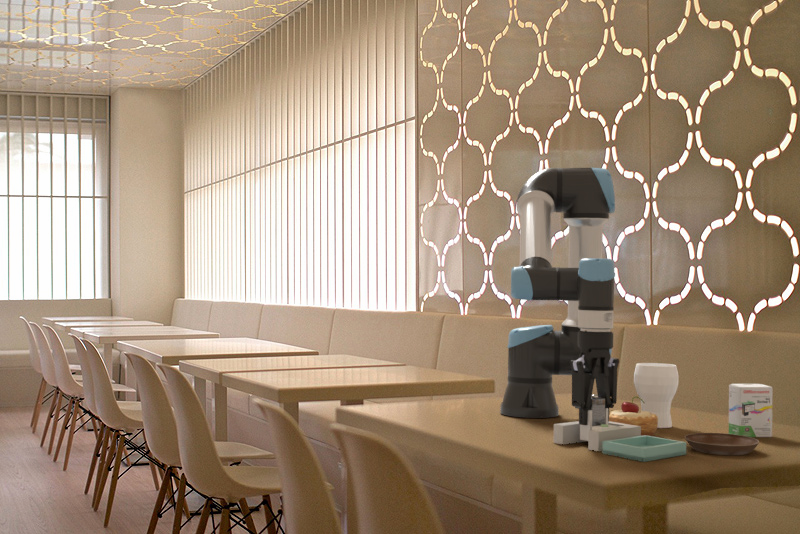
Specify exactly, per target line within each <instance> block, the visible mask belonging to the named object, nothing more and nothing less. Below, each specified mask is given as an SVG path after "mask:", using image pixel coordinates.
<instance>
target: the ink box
mask: <svg viewBox="0 0 800 534" xmlns="http://www.w3.org/2000/svg"><path fill="white" fill-rule="evenodd" d="M773 390H774V388H773V387H772V386H771V385H766V384H762V383H731V384H728V434H735V435H742V436H747V437H751V438H772V437H773V395H774V394H773V392H774V391H773Z"/></svg>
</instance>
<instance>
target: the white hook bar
mask: <svg viewBox="0 0 800 534" xmlns="http://www.w3.org/2000/svg"><path fill="white" fill-rule="evenodd" d="M636 436H641V426H635V425H629V424H623V423H617V422H611V421H609V422H608V424H601V425H600V426H592V430H589V435H588V441H587V442H588V443H587V444H588V446H587V450H589V451H592V450H594V451H593V452H597V451H599V452H602V450H603V441H608V440H615V439H622V438H629V437H636ZM552 440H553V443H554V444H556V445H557V444H558V445H562V444H563V445H568V444H569V443H570V444H577V443H582V442H583V443H584V442H585V441H584V440H580V424H579V420H578V421H569V422H560V423H554V424H553V438H552ZM576 442H577V443H576Z"/></svg>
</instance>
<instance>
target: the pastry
mask: <svg viewBox="0 0 800 534" xmlns="http://www.w3.org/2000/svg"><path fill="white" fill-rule="evenodd" d="M634 399H639V400H641V401H642V402H643V403H644V401H643V400H642V399H641V398H639V396H633V397H632V398H631V402H630V401H622V403H621V406H620V407H621V409H615V410H609V421H611V422H617V423H623V424H629V425H635V426H641V436H643V435H647V436H653V437H654V435H655V433H656V431H657V429H658V428H657V425H658V417H657V415H656V414H654V413H653V414H651V413H650V412H648V411H642V410H640V407H639V405H638V404H637V403H634ZM641 401H640V402H641Z"/></svg>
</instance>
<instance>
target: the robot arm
mask: <svg viewBox="0 0 800 534" xmlns="http://www.w3.org/2000/svg"><path fill="white" fill-rule="evenodd" d="M615 211H616V198H615V189H614V182H613V177H612V175H611V172H610V171H609V169H607V168H603V167H602V168H600V167H592V166H591V167H548V168H545V169H542V170H539V171H538V172H536V173H535V174H532V176H531V177H529V178H528V179H527V180H526V181H525V182H524V183H523V185H522V186H521V188H520V189H519V192H518V194H517V199H516V212H517V213H518V215H519V217H520V221H519V222H520V226H519V265H518V266H513V267H512V268H511V271H510V273H511V274H510V296H511V297H512V298H513V299H515V300H525V301H563V302H564V301H566V302H567V317H566V318H565V320H563V322H562V323H561V330H554V326H553V325H552V324H544V325H543V324H542V325H533V326H523V327H517V328H513V329H512V330H510V331H509V333H508V343H507V346H506V348H508V349H507V351H508V352H507V353H508V354H507V356H508V357H507V384H506V387H505V391H504V395H503V399H502V402H501V403H500V407H499V408H500V414H501V415H505V416H509V417H515V418H523V419H524V418H527V419H528V418H529V419H538V418H539V419H545V418H556V417H558V416H559V410H560V409H559V404H557V399H556V395H555V392H554V388H553V387H554V386H553V376H571V406H572V407H574V408H575V409H577V410H578V421H579V424H580V440H585V441H584V442H588V435H589V430H592V410H589V409H590V403H591V397H592V395H593V391H594V390H593V389H594V384H595V386H596V393H597V394H596V395H598V397H603V398H605V424H608V422H609V411H610V409H613V408H614V407H615V405H616V404H617V399H618V397H617V395H618V368H619V363H620V359H619V358H614V357H612V351H613V350H612V349H613V348H614V332H613V331H611V330H612V329H614V309H615V308H614V307H615V306H614V303H615V302H614V301H615V300H614V299H615V277H616V273H615V263H614V260H613V259H612V258H603V233H604V232H603V231H604V229H603V228H604V225H605V224H606V223H607V222H609V220H610V219H609V218H610V214H614V213H615ZM554 213H562V214H563V216H562V219H563V221H564V222H565V223H566V224H567V225H568V267H560V266H559V267H558V266H555V267H553V263H552V262H553V254H552V253H553V252H552V215H553V214H554ZM584 402H585V403H584Z"/></svg>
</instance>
